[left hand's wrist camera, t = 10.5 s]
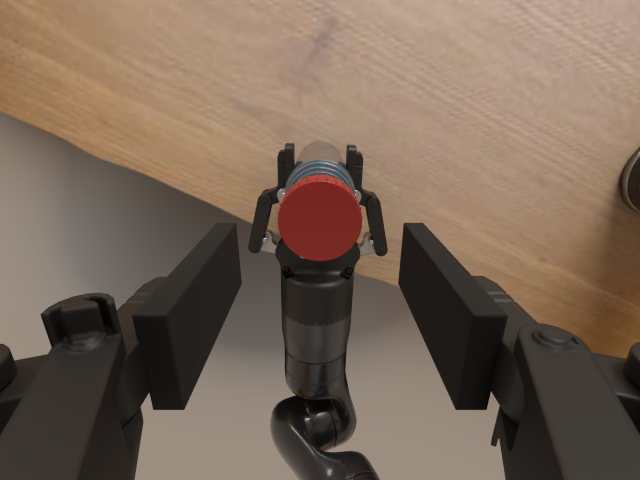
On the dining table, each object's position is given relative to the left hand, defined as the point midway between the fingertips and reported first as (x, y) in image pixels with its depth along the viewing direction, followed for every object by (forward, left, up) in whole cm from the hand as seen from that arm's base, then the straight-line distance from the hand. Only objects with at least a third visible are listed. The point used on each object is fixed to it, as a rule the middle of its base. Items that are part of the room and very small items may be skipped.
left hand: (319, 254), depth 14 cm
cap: (0, 0, -5) cm, 5 cm away
